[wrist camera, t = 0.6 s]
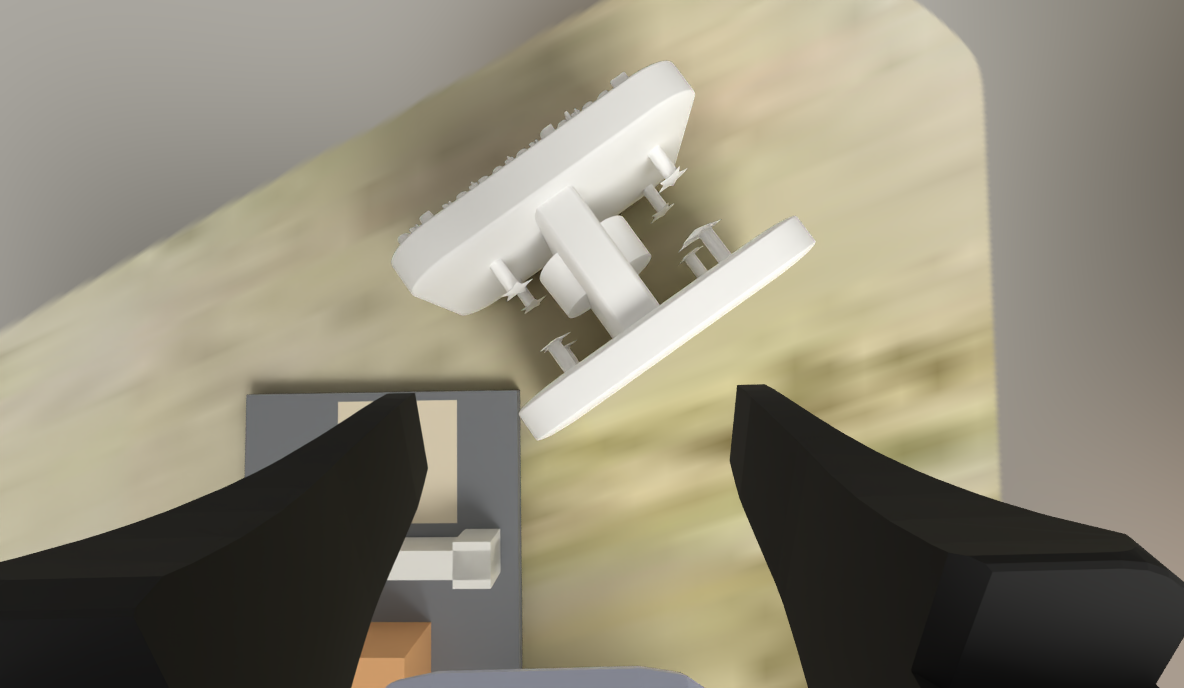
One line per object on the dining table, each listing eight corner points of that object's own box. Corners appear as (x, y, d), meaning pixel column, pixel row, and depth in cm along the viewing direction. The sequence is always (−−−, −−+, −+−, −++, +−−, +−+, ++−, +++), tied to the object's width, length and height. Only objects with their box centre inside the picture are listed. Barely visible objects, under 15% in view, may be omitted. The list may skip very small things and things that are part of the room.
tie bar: (500, 571, 31) (490, 588, 29) (292, 572, 32) (265, 589, 29) (500, 528, 31) (490, 541, 29) (293, 530, 32) (266, 542, 29)
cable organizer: (550, 433, 33) (516, 464, 21) (450, 289, 34) (364, 243, 22) (756, 286, 33) (835, 237, 21) (652, 146, 34) (672, 24, 22)
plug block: (431, 695, 31) (404, 742, 27) (361, 694, 31) (323, 741, 27) (431, 622, 31) (404, 657, 27) (361, 622, 31) (325, 657, 27)
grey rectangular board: (523, 776, 32) (520, 789, 31) (249, 773, 32) (238, 786, 31) (519, 389, 33) (516, 390, 32) (257, 394, 33) (246, 394, 32)
